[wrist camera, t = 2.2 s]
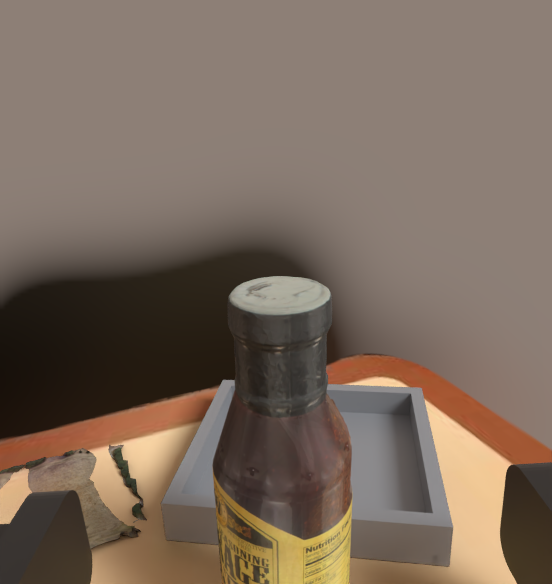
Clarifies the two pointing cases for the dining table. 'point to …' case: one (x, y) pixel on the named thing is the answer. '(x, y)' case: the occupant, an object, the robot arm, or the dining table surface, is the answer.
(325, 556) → the sauce bottle
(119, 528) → the parchment
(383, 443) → the tray
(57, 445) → the dining table surface
